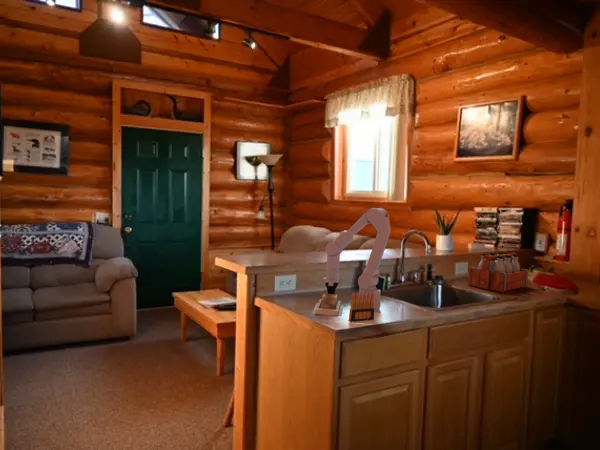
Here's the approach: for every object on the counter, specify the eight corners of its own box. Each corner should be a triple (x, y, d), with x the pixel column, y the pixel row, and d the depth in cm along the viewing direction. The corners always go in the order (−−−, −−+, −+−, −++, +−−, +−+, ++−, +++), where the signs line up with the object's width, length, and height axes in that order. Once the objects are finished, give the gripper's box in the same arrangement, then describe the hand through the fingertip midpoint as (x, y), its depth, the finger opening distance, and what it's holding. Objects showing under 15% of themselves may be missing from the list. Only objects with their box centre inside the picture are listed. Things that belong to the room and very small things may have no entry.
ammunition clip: (351, 322, 185) (352, 292, 184) (348, 321, 187) (350, 291, 186) (374, 320, 190) (376, 291, 189) (371, 319, 191) (373, 290, 190)
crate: (336, 306, 208) (337, 294, 208) (335, 309, 202) (336, 297, 202) (322, 304, 209) (323, 293, 209) (321, 308, 203) (322, 296, 203)
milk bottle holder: (464, 285, 273) (467, 252, 272) (495, 280, 296) (497, 249, 294) (500, 293, 257) (503, 257, 256) (529, 287, 280) (532, 254, 278)
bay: (343, 306, 210) (343, 301, 210) (341, 317, 192) (341, 311, 192) (316, 304, 211) (316, 298, 211) (311, 314, 194) (312, 308, 194)
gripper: (325, 265, 222) (323, 294, 223) (322, 270, 208) (320, 301, 209) (340, 266, 221) (338, 295, 222) (338, 272, 207) (336, 302, 208)
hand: (330, 298), depth 215 cm, fingers closed
